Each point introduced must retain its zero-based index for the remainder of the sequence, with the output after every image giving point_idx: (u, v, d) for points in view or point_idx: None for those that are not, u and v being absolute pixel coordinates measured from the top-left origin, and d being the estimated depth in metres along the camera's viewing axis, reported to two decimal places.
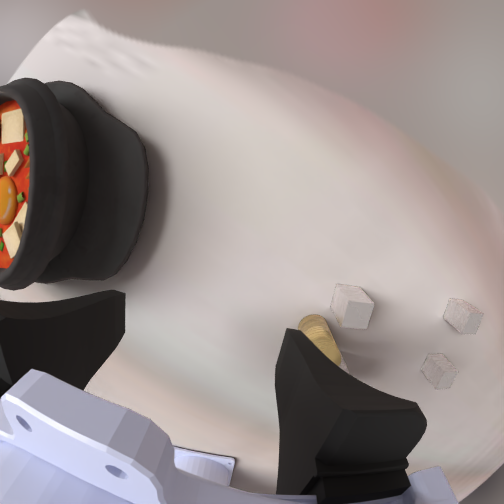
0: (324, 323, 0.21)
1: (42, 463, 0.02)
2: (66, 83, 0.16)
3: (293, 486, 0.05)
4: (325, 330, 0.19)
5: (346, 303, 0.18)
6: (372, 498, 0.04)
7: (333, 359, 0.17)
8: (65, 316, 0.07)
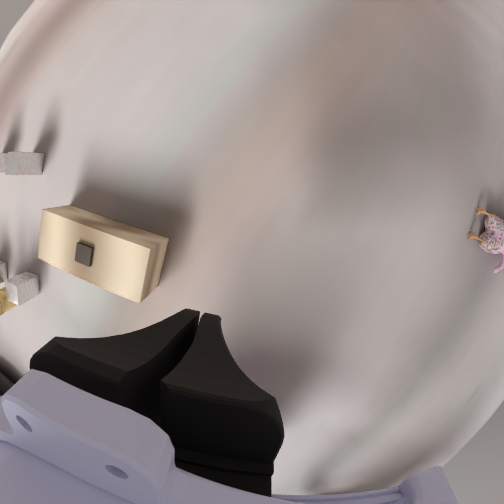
0: None
1: (42, 463, 0.02)
2: None
3: None
4: None
5: None
6: (372, 498, 0.04)
7: None
8: (165, 349, 0.07)
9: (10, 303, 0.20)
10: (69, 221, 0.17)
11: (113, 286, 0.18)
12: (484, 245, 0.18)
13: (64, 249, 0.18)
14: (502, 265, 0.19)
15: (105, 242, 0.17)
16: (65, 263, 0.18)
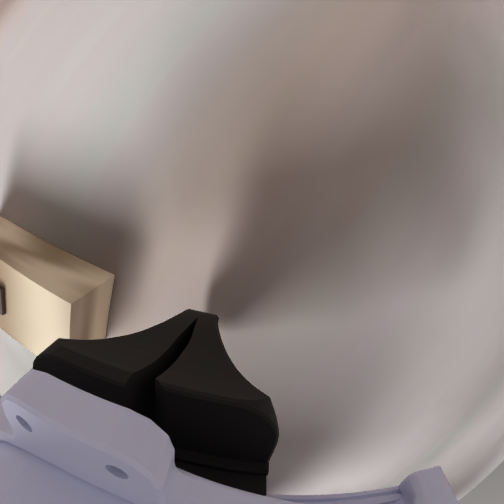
0: None
1: (42, 463, 0.02)
2: None
3: None
4: None
5: None
6: (372, 498, 0.04)
7: None
8: (168, 350, 0.07)
9: None
10: None
11: (34, 347, 0.09)
12: None
13: None
14: None
15: (15, 283, 0.09)
16: None
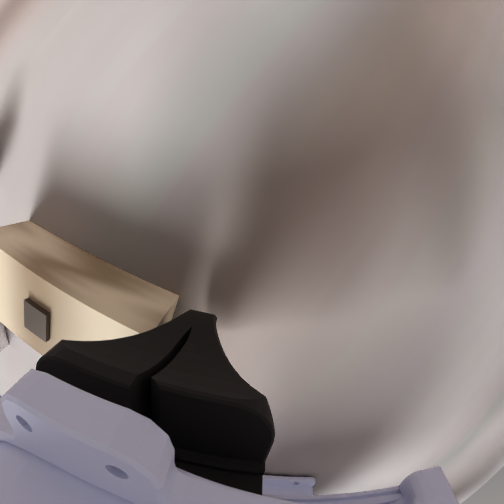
0: None
1: (42, 463, 0.02)
2: None
3: None
4: None
5: None
6: (372, 498, 0.04)
7: None
8: (172, 351, 0.07)
9: None
10: (12, 261, 0.08)
11: None
12: None
13: (10, 303, 0.09)
14: None
15: (67, 309, 0.09)
16: (14, 323, 0.09)
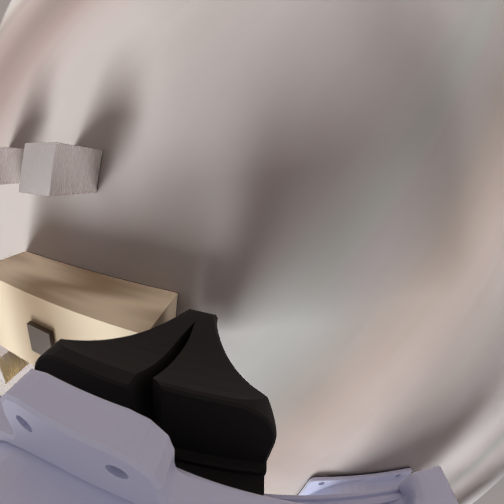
0: None
1: (42, 463, 0.02)
2: None
3: None
4: None
5: None
6: (372, 498, 0.04)
7: None
8: (171, 350, 0.07)
9: None
10: (11, 288, 0.09)
11: None
12: None
13: (16, 331, 0.09)
14: None
15: (67, 323, 0.09)
16: (23, 350, 0.09)
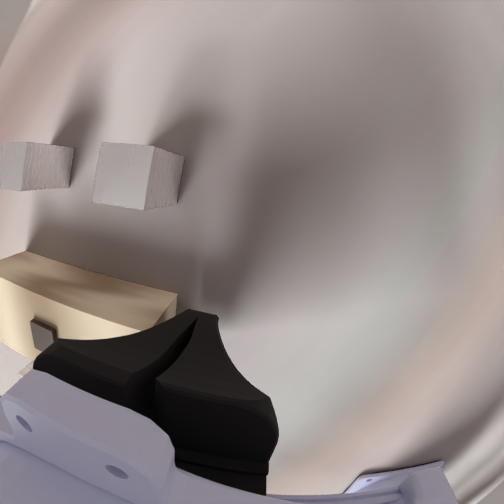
0: None
1: (42, 463, 0.02)
2: None
3: None
4: None
5: None
6: (372, 498, 0.04)
7: None
8: (169, 350, 0.07)
9: None
10: (14, 286, 0.09)
11: None
12: None
13: (19, 328, 0.09)
14: None
15: (70, 321, 0.09)
16: (25, 348, 0.10)
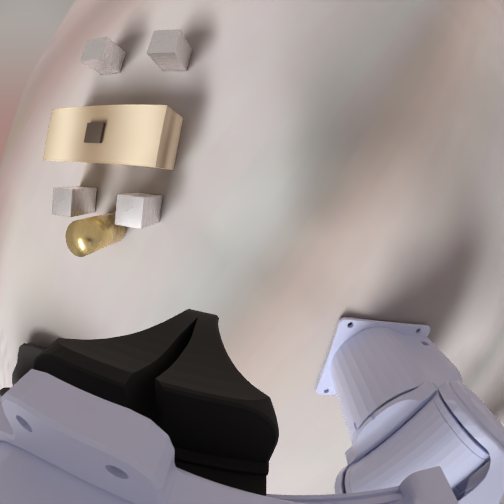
0: None
1: (42, 463, 0.02)
2: None
3: None
4: None
5: (57, 214, 0.17)
6: (372, 498, 0.04)
7: (76, 229, 0.16)
8: (169, 350, 0.07)
9: (111, 235, 0.18)
10: (80, 108, 0.15)
11: (125, 156, 0.16)
12: None
13: (72, 138, 0.16)
14: None
15: (118, 113, 0.15)
16: (72, 152, 0.16)
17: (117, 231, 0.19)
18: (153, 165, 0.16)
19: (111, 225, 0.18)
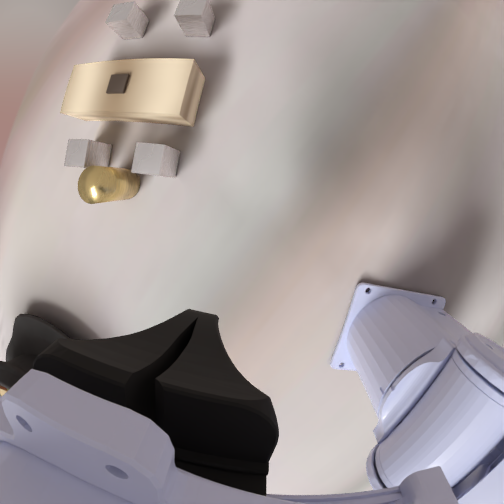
0: None
1: (42, 463, 0.02)
2: (6, 361, 0.23)
3: None
4: None
5: None
6: (372, 498, 0.04)
7: (90, 174, 0.15)
8: (169, 350, 0.07)
9: (125, 186, 0.18)
10: (104, 62, 0.14)
11: (148, 105, 0.15)
12: None
13: (94, 90, 0.15)
14: None
15: (144, 66, 0.15)
16: (93, 103, 0.15)
17: (131, 184, 0.19)
18: (177, 113, 0.15)
19: (125, 176, 0.18)
